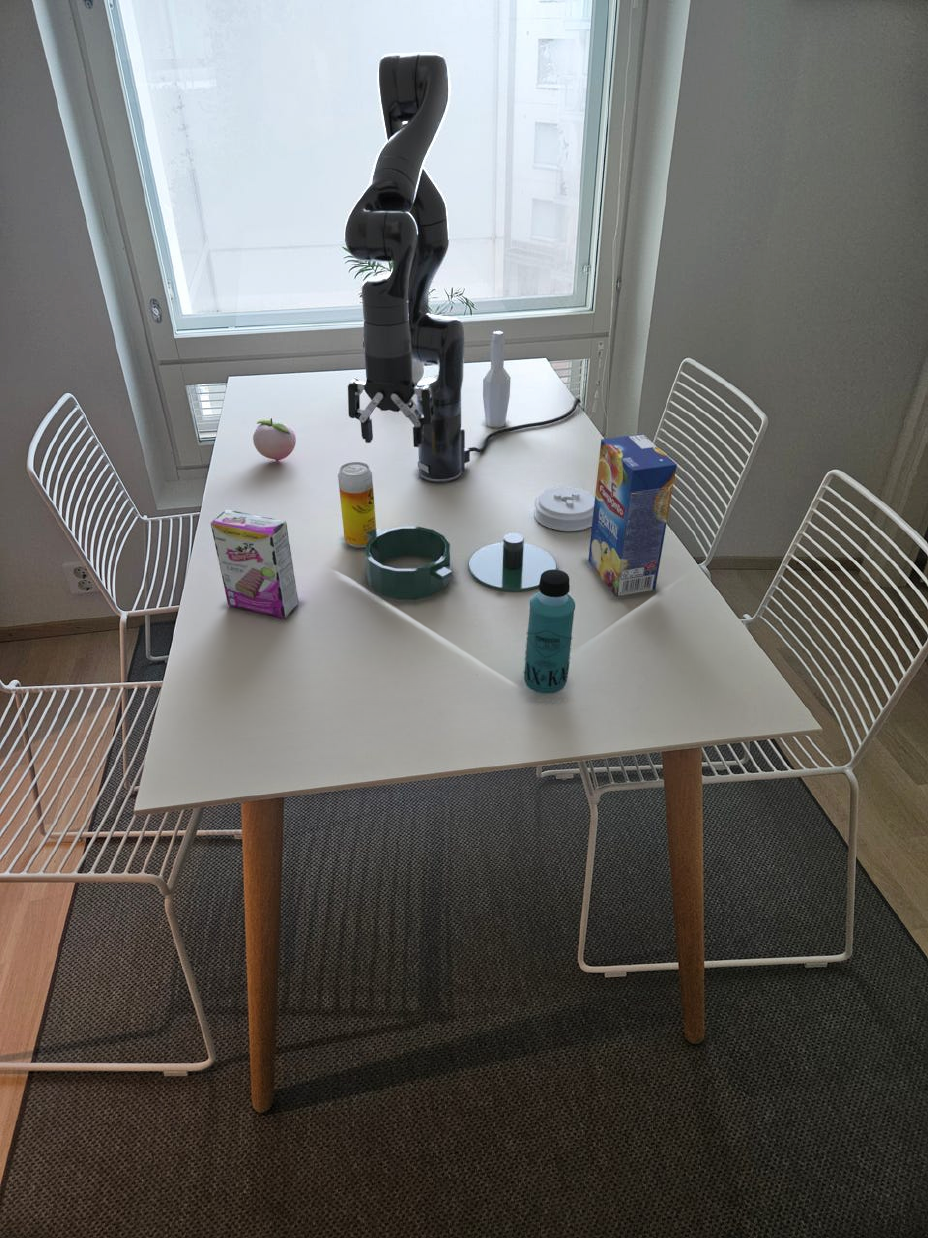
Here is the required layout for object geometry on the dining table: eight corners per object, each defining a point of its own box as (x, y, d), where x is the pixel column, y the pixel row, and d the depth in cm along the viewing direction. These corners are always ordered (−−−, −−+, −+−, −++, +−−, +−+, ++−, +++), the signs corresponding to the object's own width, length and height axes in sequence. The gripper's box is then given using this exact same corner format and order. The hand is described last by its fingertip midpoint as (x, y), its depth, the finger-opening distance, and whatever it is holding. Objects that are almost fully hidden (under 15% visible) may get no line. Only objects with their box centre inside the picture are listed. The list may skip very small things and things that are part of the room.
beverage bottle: (519, 675, 121) (526, 563, 109) (563, 672, 121) (574, 561, 109) (526, 704, 116) (533, 590, 104) (571, 701, 116) (584, 588, 104)
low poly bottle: (513, 422, 197) (517, 331, 184) (500, 431, 193) (503, 338, 180) (491, 416, 200) (493, 326, 187) (477, 425, 195) (479, 333, 182)
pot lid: (510, 538, 153) (511, 507, 149) (573, 570, 144) (576, 537, 140) (451, 569, 144) (450, 537, 140) (515, 605, 135) (516, 572, 131)
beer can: (371, 550, 149) (365, 477, 140) (340, 547, 150) (332, 474, 141) (380, 534, 154) (375, 462, 145) (350, 531, 155) (343, 459, 146)
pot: (403, 542, 152) (401, 512, 148) (478, 584, 140) (478, 554, 137) (341, 572, 144) (338, 541, 140) (416, 619, 132) (414, 588, 128)
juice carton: (655, 592, 138) (677, 464, 124) (615, 598, 137) (633, 470, 122) (625, 556, 148) (642, 433, 133) (587, 562, 146) (601, 439, 132)
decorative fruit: (248, 465, 178) (241, 422, 172) (269, 450, 184) (262, 408, 178) (285, 472, 175) (278, 429, 169) (304, 457, 181) (299, 415, 175)
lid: (606, 511, 161) (608, 488, 158) (586, 540, 152) (588, 517, 149) (546, 498, 165) (548, 476, 162) (524, 526, 156) (525, 504, 153)
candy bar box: (226, 607, 135) (207, 522, 125) (242, 591, 139) (225, 507, 129) (285, 620, 132) (271, 534, 122) (300, 603, 136) (287, 518, 126)
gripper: (436, 343, 129) (438, 437, 139) (352, 337, 132) (359, 431, 141) (425, 358, 124) (428, 456, 133) (337, 352, 126) (346, 448, 136)
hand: (393, 443), depth 137 cm, fingers open, 8 cm apart
